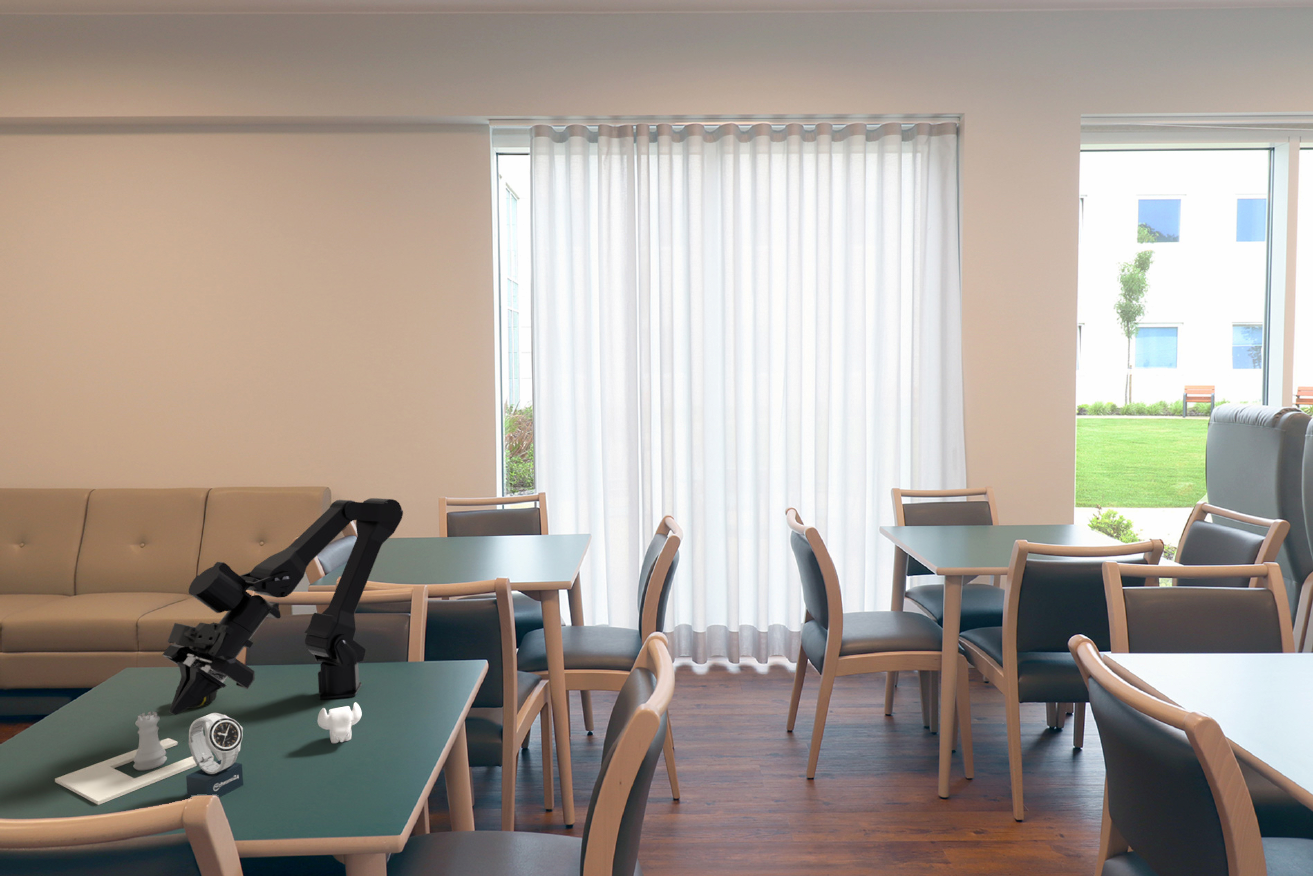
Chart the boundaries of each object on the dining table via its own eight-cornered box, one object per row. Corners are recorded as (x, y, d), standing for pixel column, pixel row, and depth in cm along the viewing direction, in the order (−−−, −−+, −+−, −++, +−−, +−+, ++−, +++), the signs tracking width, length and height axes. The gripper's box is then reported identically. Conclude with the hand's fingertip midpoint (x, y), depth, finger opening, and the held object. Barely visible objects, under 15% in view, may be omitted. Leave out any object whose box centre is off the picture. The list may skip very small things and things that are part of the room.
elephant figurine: (319, 754, 123) (317, 717, 123) (317, 735, 131) (316, 700, 130) (365, 745, 126) (363, 709, 126) (360, 727, 134) (359, 693, 133)
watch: (217, 805, 108) (212, 727, 108) (179, 795, 111) (174, 719, 111) (253, 787, 113) (248, 712, 113) (215, 777, 117) (211, 705, 116)
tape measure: (219, 696, 151) (217, 677, 151) (214, 708, 145) (213, 688, 145) (178, 702, 148) (176, 683, 148) (172, 715, 142) (170, 695, 142)
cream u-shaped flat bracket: (168, 741, 130) (168, 738, 130) (213, 759, 123) (213, 755, 123) (55, 782, 117) (54, 778, 117) (98, 805, 109) (98, 801, 109)
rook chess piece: (143, 759, 124) (140, 710, 123) (173, 757, 124) (169, 708, 124) (126, 772, 119) (123, 721, 119) (157, 770, 120) (154, 719, 119)
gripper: (172, 596, 133) (102, 680, 124) (232, 608, 123) (161, 700, 114) (220, 630, 140) (158, 711, 131) (281, 644, 130) (218, 733, 121)
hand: (172, 713), depth 124 cm, fingers closed
